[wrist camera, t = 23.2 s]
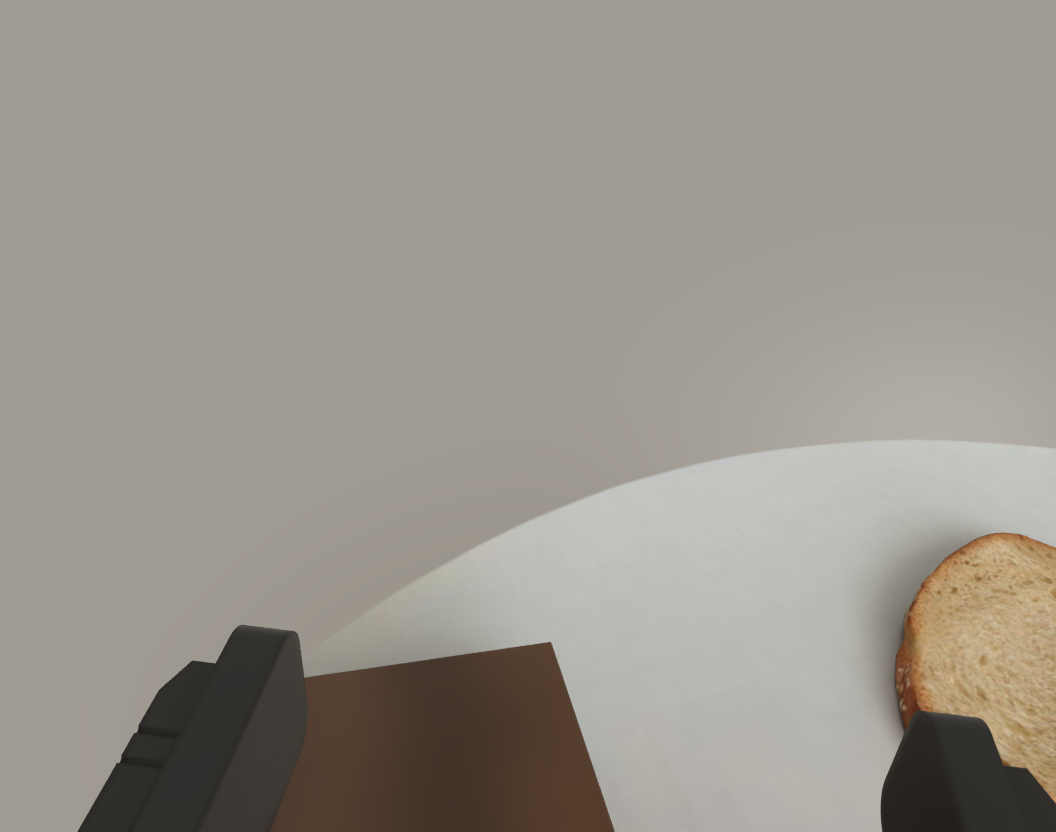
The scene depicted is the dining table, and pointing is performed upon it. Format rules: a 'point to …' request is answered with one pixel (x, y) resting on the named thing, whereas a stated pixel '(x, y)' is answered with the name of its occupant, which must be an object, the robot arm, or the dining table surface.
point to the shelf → (444, 750)
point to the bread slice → (988, 647)
